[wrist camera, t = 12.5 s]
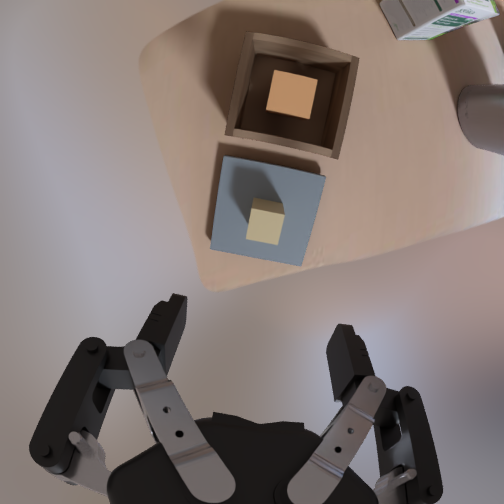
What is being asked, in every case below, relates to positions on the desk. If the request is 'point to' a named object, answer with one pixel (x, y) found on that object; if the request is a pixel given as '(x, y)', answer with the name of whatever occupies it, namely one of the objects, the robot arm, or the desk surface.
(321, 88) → the storage box
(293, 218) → the lid
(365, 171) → the desk surface
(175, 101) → the desk surface
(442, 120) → the desk surface
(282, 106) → the block
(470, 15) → the syrup box
